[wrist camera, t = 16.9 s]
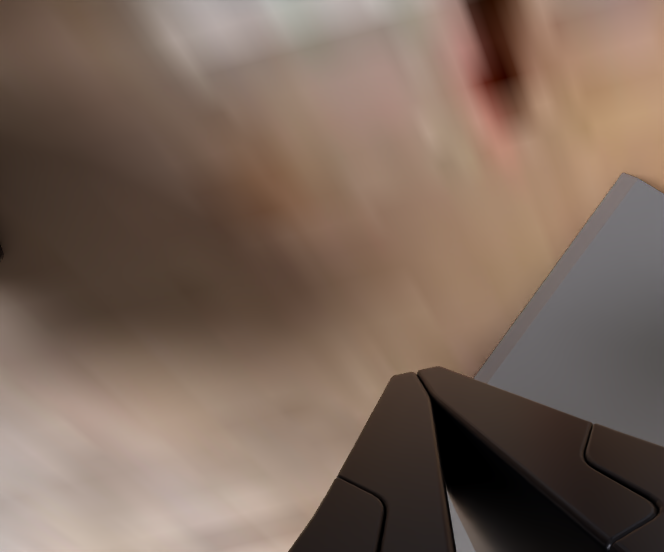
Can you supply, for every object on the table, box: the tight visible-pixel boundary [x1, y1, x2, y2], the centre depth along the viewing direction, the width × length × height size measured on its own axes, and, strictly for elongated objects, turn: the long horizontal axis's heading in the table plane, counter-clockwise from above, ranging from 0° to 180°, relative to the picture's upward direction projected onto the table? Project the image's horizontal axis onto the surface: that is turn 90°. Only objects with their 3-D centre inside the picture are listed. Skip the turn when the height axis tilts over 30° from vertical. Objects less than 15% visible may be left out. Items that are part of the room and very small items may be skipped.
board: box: [447, 173, 664, 552], centre depth 26 cm, size 28×16×1 cm, turn 152°
